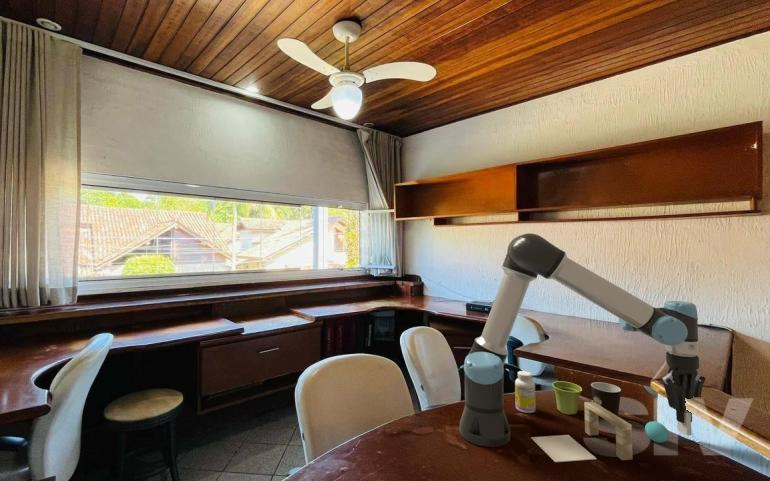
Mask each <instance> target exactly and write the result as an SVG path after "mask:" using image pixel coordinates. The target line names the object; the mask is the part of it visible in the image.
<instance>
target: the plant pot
mask: <svg viewBox="0 0 770 481" xmlns="http://www.w3.org/2000/svg"><path fill="white" fill-rule="evenodd" d="M551 386H552V388H553V391H554V393H555V394H554V395H555V400H556V408H557V410H558V411H559V412H560V413H562V414H564V415H568V416H569V415H577V413H578V408H579V401H580V395H581V393H582V391H583V388H582V387H581V386H580V385H578V384H575V383H573V382H569V381H563V380H562V381H561V380H559V381H554V382H552V384H551Z"/></svg>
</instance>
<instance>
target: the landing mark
mask: <svg viewBox="0 0 770 481" xmlns="http://www.w3.org/2000/svg"><path fill="white" fill-rule="evenodd" d="M530 439H531V440H532V441H533V442H535V444H536V445H537V446H539V448H540V449H541V450H542V451H543V452H544V453H545V454H546V455H547V456H549V458H551V460H553V462H554V463H562V462H563V463H565V462H578V461H590V460H597V459H598V458H596V456H595V455H593V454H592V453H590V451H588V450H587V449H586V448H585V447H583V446H582V445H581V444H580V443H579V442H578V441H576V439H574V438H573V437H571V436H570V435H569V434H562V435H548V436H546V435H545V436H532V437H530Z"/></svg>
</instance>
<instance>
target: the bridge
mask: <svg viewBox="0 0 770 481" xmlns="http://www.w3.org/2000/svg"><path fill="white" fill-rule="evenodd" d="M583 407H584V432H585V433H586V434H587V435H588V436H599V432H600V431H599V418H598V415H599V416H601V417H602V418H604V419H605V420H604V421H606V420H607V422H608V423H610V424H612V425H613V426H614V427H615V443H616V444H615V446H616V447H615V448H616V451H615V452H616V457H617V458H619V459H620V460H621V461H630V460H633V459H634V458H633V435H632V434H633V433H632V432H633V431H632V430H633V429H632V427H633V426H632V424H631V423H629V422H627V420H624V419H623V418H621V417H620V416H619V415H618V416H616V415H614V414H613V413H611V412H609V411H608V410H606V409H605V408H603V407H601V406H600V405H598V404H596V403H595V402H594V401H584V406H583Z"/></svg>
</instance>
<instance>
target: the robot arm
mask: <svg viewBox="0 0 770 481" xmlns="http://www.w3.org/2000/svg"><path fill="white" fill-rule="evenodd" d="M506 249H507V252H506V255H505V258H504V261H503V263H502V266H501V267H502V270H503V272H504V274H503V276H502V279H501V282H500V285H499V287H498V290H497V293H496V295H495V298H494V301H493V303H492V307H491V309H490V311H489V314H488V317H487V319H486V322H485V325H484V327H483V330H482V332H481V335H480V336H479V337H476V338H474V341H473V343H472V347H471V349H470V351H469V352H468V354H467V355H466V356H465V359H464V364H463V371H464V408H463V412H462V415H461V417H460V421H459V434H460V435H461V437H462V438H463V439H464V440H466V442H467V441H468V442H469V443H472V444H474V445H477V446H480V447H487V448H495V447H501V446H505V445H507V444H509V442H510V440H511V428H510V424H509V422H508V418H507V416H506V414H505V404H504V401H505V398H504V396H505V395H504V393H505V392H504V373H505V368H504V367H505V366H504V365H505V363H506V360H507V357H508V355H509V351H508V349H507V347H506V346H507V344H508V341H509V339H510V335H511V333H512V331H513V328H514V325H515V323H516V320H517V317H518V314H519V312H520V310H521V306H522V305H523V301H524V299H525V297H526V293H527V291H528V288H529V286H530V284H531V282H533V281H535V280H536V279H537V278H538V276H540V277H542V278H544V279H545V280H555V281H556V282H557V283H560V284H561V285H563V286H564V287H565V288H567V289H569V290H570V291H573V292H574V293H576V294H577V295H580V296H581V297H583V298H584V299H586V300H588V301H589V302H591V303H593V304H594V305H597V306H598V307H600V308H602V309H603V310H605V311H606V312H608V313H610V314H612V315H613V316H615V317H616V318H618V323H619V325H620V328H622V330H623V331H626V332H633V333H635V332H640V333H641V334H643V335H646V336H648V337H650V338H651V339H653V340H655V341H657V342H658V343H660V344H664V345H665V350H666V352H665V362H666V364H667V366H668V370H667V374H666V375H665V376H663V375H662V376H660V377H659V378H660V379H659V380H661V382H662V384H663V386H664V391H665V394H666V398H667V403H668V406H669V407H670V408H671V409H672V410H673V409H674V410H675V414H676V418H675V419H676V421H677V431H678V432H680V433H682V434H684V435H686V436H692V422H693V413H691V412H689V411H688V410H686V406H685V403H686V401H685V398H687V399H691V398H693V396H694V397H701V398H702V392H703V386H704V383H705V382H706V380H707V379H706V377H705V376H701V374H699V372H698V370H699V369H700V357H699V356H698V355H699V330H698V328H699V327H698V326H699V323H698V322H699V318H698V309H697V306H696V304H694V303H692V302H689V301H681V300H666V301H665V302H664V304H663V307H654V306H653V305H651V304H650V303H647V301H644V300H642V299H640V298H639V297H637V296H636V295H634V294H632V293H631V292H628V291H627V290H625V289H623V288H622V287H620V286H618V285H617V284H614V283H612V282H611V281H610V280H607V279H606V278H604V277H602V276H600V275H599V274H597V273H595V272H593V271H592V270H590V269H589V268H587V267H585V266H583V265H581V264H579V263H578V262H576V261H575V260H573V259H571V258H569V257H568V255H567V252H566V251H564V250H563V249H560V248H559V247H557V246H556V245H554V244H553V243H551V242H550V241H549V240H547V239H546V238H544V237H542V236H541V235H539V234H537V233H524V234H521V235H520V234H519V235H518V236H516V237H514V238H513V239H512V240H511V241H510V242H509V244H508V247H507V248H506Z"/></svg>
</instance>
